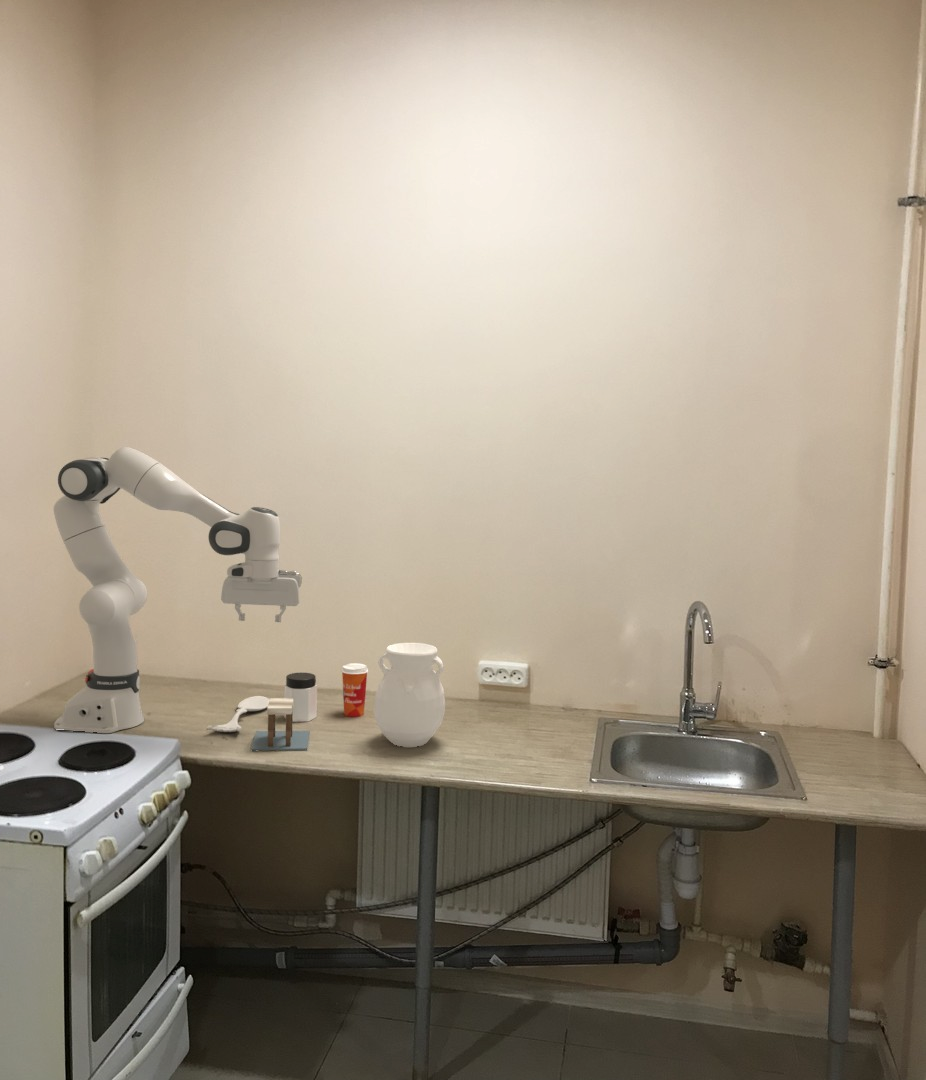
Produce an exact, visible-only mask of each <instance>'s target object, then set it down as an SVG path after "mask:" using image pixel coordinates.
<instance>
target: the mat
mask: <svg viewBox="0 0 926 1080" xmlns="http://www.w3.org/2000/svg"><path fill="white" fill-rule="evenodd" d="M309 741H310V730H292V737H291V746H286V730H275V737H273V747H268V730H258V731H255V735H254V737H253V741H252V744H251V747H250V751H251V750H255V751H254V752H257V751H256V750H278V752H279V751H280V750H283V752H284V751H287V750H289V751H308V750H307V749H309ZM280 752H281V751H280Z"/></svg>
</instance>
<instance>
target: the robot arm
mask: <svg viewBox="0 0 926 1080" xmlns="http://www.w3.org/2000/svg"><path fill="white" fill-rule="evenodd" d="M57 484H58V487H59V491H61V493H62V494H63V496H61V497H60V498H58V500H57V501H56V502H55V504H53V505H54V506H53V515H54V519H55V522H56V525H57V528H58V532H59V535H60V537H61V539H62V541H63V544H64V546H65V548H66V550H67V552H68V555H69V556H70V557H69V558H71V562H72V563H73V566H74V568H75V569H76V570H77V571H78V572H80V573H81V574H82V575H84V576H85V578H86V579H87V580H88V581H89V582H90V583H91V585H92V587H91V588H89V589H88V591H86V592H85V594H83V596H81V599H80V601H79V603H78V604H79V605H78V608H79V609H78V610H79V613H80V615H81V617H82V619H83V620H84V621H85V622H86V623H87V626H88V629H89V634H90V637H91V643H92V656H93V657H92V658H93V660H92V661H93V669H92V668H91V669H90V670H89V671H88V672H87V674H86V675H85V678H84V680H85V681H84V682H85V685H86V686H84V687H83V688H82V689H80V690H78V692H77V693H75V694H74V695H73V696H71V697H70V698H69V699H68V700H67V701H66V703H65V705H64V709H63V713H62V715H61V716H59V717H58V718H57V719H56V720H55V721H54V723H53V729H54V728H55V729H64V730H75V731H85V732H84V733H93V732H97V734H111V733H115V732H118V731H120V730H127V729H130V728H135V727H137V726H140V725H141V724H143V723H144V722H145V717H144V715H143V712H142V708H141V700H140V694H139V691H140V687H141V685H140V684H141V677H140V670H139V669H138V641H137V640H136V638H135V637H134V635H133V633H132V632H133V631H132V628H131V625H130V617H131V616H133V615H134V614H137V613H138V612H139V611H140V610H141V609H142V607H144V606H145V604H146V602H147V599H148V589H147V587H146V585H145V583H144V582H143V581H142V580H140V579H139V578H137V577H136V576H135V574H134V573H133V571H131V569H130V568H129V567H128V566H127V564H126V563H125V560H123V558H122V557H121V556H120V554H119V553H118V551H117V548H116V546H115V544H114V543H113V540H112V538H111V536H110V534H109V532H108V530H107V527H106V526H105V523H104V521H103V519H102V517H101V514H100V511H99V507H100V504H105V503H107V502H108V501H109V500H110V499H111V498H112V497H113V496H114V495H116V493H118V492H119V491H120V490H121V489H122V490H124V491H125V492H126V493H128V494H130V496H133V497H134V498H136V499H137V500H139V502H142V503H143V504H145V505H147V506H149V507H151V508H154V509H156V510H158V511H159V510H160V511H171V512H180V513H183V514H184V513H185V514H187V515H190V516H193V517H194V518H196V520H199V521H201V522H203V523H204V524H205V525H207V526H209V527H210V528H209V529H210V530H209V532H208V543H209V545H210V547H211V549H212V550H213V551H214V552H215V553H217V554H218V555H222V556H235V555H239V554H243V555H244V560H245V561H244V562H240V563H236V564H231V565H230V566H229V567H228V568H227V570H226V571H227V572H226V576H227V577H226V578H225V579H224V581H223V584H222V588H221V595H220V596H221V597H220V599H221V602H222V603H223V604H225V605H226V604H227V605H229V604H231V605H234V609H235V611H236V613H237V615H238V621H240V622H245V621H246V613H245V612H244V613H243V612H242V610H241V607H242V605H256V606H279V610H280V612H279V613H278V614H275V621H274V622H275V623H282V616H283V614H284V613H285V611H286V609H287V607H297V606H298V605H299V604H300V601H301V600H300V599H301V595H300V593H301V591H300V587H301V586H302V580H303V577H302V576H301V574H300V573H298V572H297V571H296V570H283V569H280V560H281V559H280V553H279V548H280V545H281V522H280V517H279V514H277V512H276V511H274V510H272V509H269V508H265V507H258V506H253V507H250V508H249V509H248V510H246V511H244V512H241V513H237V512H233V511H231V510H229V509H227V508H225V507H224V506H222V505H221V504H219V503H218V502H215V501H214V500H213V499H212V498H209V497H208V496H206V495H204V494H203V493H201V492H200V491H198V490H197V489H195V488H194V487H193V486H191V484H189V483H188V482H186V481H184V480H183V479H182V478H181V477H179V475H177V474H176V473H174V472H173V471H172V470H171V469H170V468H168V467H166V466H165V465H164V464H162V463H161V462H160V461H158V460H156V459H155V458H154V457H151V456H149V455H147V454H146V453H143V452H142V451H140V450H138V449H135V448H132V447H129V446H124V447H120V448H119V449H117V450H115V451H114V452H113V453H112V454H111V455H110V457H109V458H107V457H86V458H82V459H75V460H72V461H70V462H68V463H66V464H64V466H63V467H62V468H61V469H60V471H59V472H58V476H57ZM55 729H54V730H55Z"/></svg>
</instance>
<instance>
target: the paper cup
mask: <svg viewBox="0 0 926 1080" xmlns="http://www.w3.org/2000/svg"><path fill="white" fill-rule="evenodd" d="M340 672H341V673H342V674H341V675H342V695H343V696H342V697H343V700H342V701H343V714H344V716H346V717H349V718H350V717H351V718H358V717H362V716H364V714H365V706H366V705H365V704H366V695H367V694H366V692H367V691H366V690H367V682H368V681H367V680H368V679H367V677H368V673H369V669H368V667H367V665H366V664H364V663H347V664H344V665H342V669H341V670H340Z"/></svg>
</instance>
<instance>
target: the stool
mask: <svg viewBox="0 0 926 1080" xmlns="http://www.w3.org/2000/svg"><path fill="white" fill-rule="evenodd" d="M269 699H270V701H269V704H268V707H267V708H266V715H267V731H268V747H273V737H275V731H276V716H277V715H284V714H286V718H285V731H286V746H291V737H292V731H293V722H292V721H293V703H294V698H284V697H273V698H271V697H270V698H269Z"/></svg>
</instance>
